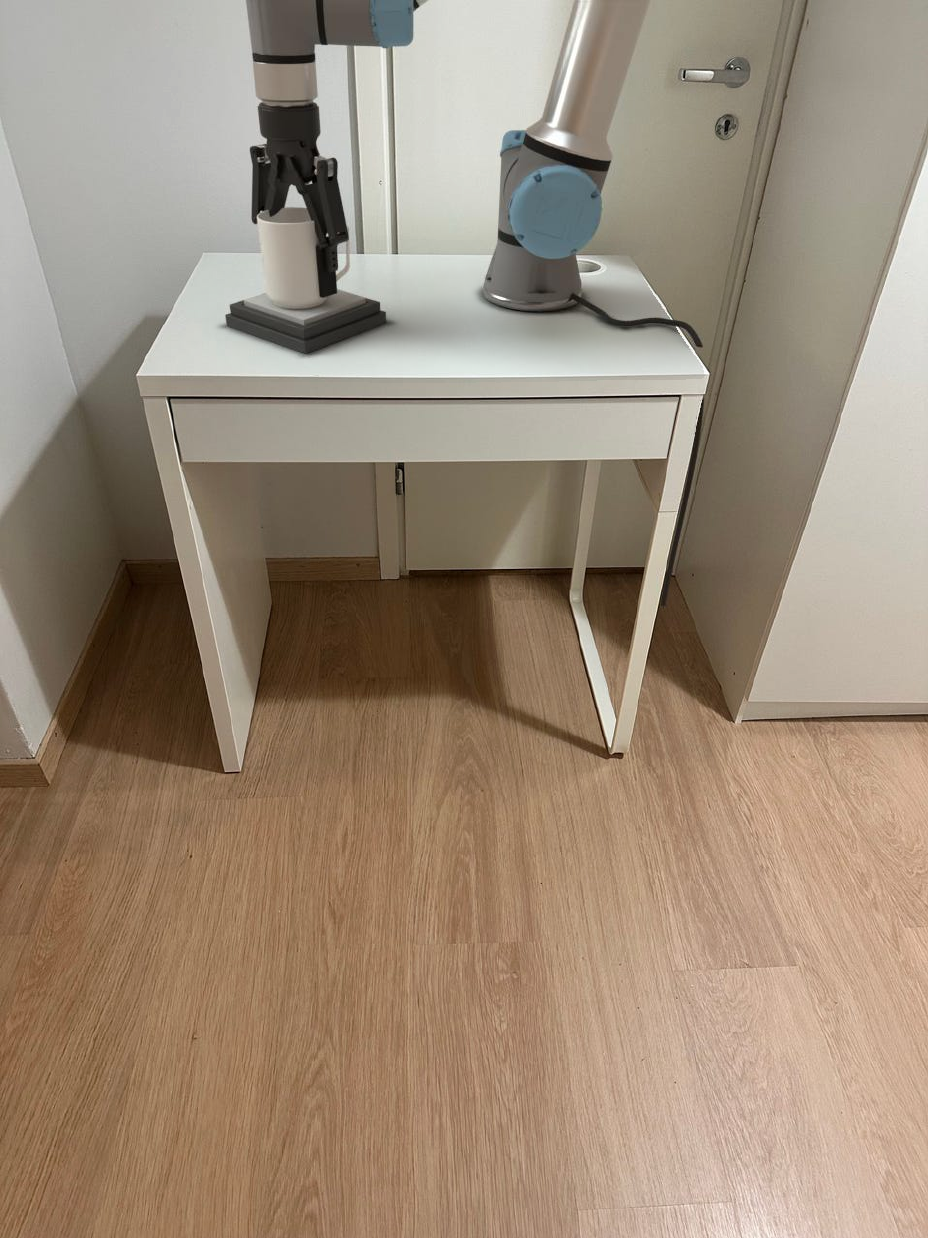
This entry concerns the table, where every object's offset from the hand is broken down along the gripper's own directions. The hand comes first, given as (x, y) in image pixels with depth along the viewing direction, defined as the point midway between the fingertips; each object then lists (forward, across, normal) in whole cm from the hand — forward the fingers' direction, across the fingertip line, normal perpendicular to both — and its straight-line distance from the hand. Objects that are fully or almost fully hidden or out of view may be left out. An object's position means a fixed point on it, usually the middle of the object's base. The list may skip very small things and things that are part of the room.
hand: (304, 287), depth 123 cm
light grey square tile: (+3, 0, 0) cm, 3 cm away
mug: (+2, -1, 0) cm, 2 cm away
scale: (+5, 0, 0) cm, 5 cm away
